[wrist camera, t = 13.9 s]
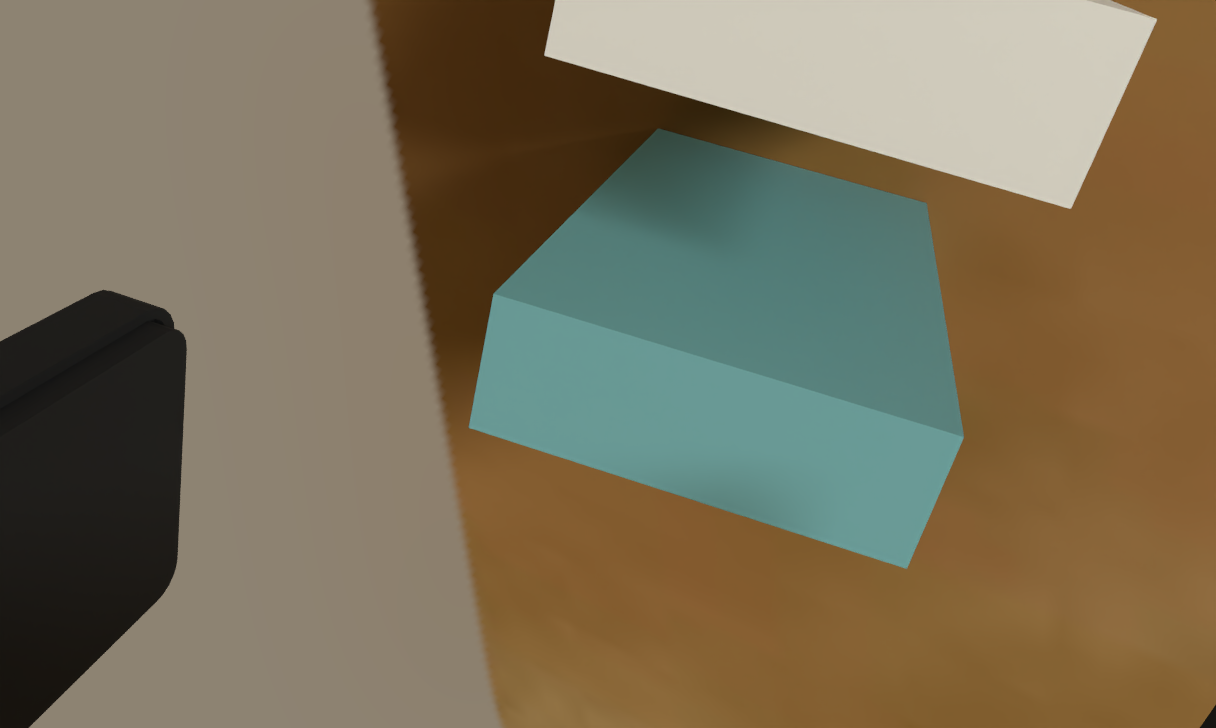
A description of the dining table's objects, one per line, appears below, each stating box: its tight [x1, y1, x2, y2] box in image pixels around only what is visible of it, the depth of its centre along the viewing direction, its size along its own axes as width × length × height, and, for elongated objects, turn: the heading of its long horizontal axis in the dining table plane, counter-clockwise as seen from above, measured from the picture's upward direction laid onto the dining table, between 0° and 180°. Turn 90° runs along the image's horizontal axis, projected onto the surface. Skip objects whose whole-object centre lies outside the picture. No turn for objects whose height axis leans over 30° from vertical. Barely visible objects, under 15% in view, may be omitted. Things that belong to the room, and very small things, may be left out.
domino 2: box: [469, 128, 964, 569], centre depth 18 cm, size 2×6×11 cm, turn 77°
